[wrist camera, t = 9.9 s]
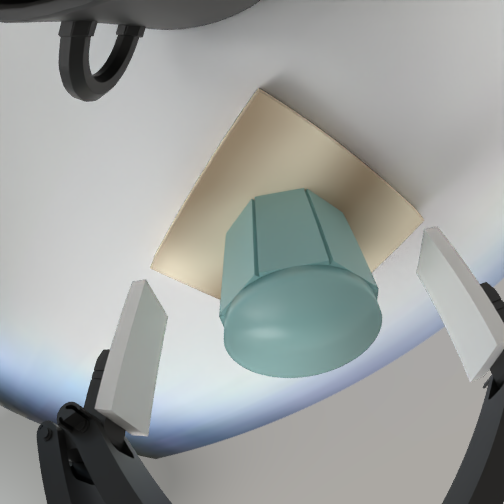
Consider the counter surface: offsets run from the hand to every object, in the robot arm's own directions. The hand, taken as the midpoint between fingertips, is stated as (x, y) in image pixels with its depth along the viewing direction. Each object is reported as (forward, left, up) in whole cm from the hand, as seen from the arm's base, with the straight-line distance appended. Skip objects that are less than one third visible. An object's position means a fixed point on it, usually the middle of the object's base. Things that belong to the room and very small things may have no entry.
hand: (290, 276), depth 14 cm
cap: (0, 0, -3) cm, 3 cm away
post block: (0, 0, -4) cm, 4 cm away
